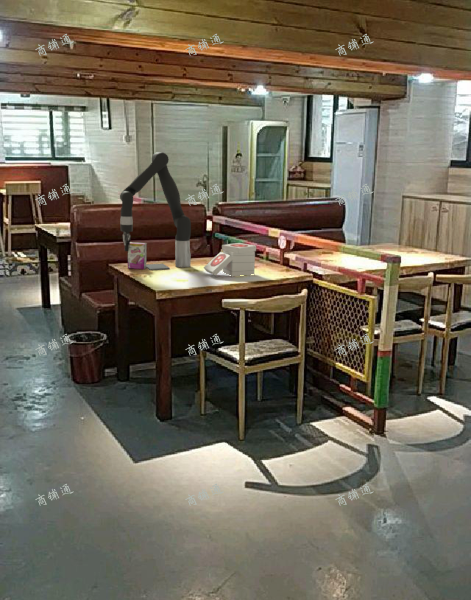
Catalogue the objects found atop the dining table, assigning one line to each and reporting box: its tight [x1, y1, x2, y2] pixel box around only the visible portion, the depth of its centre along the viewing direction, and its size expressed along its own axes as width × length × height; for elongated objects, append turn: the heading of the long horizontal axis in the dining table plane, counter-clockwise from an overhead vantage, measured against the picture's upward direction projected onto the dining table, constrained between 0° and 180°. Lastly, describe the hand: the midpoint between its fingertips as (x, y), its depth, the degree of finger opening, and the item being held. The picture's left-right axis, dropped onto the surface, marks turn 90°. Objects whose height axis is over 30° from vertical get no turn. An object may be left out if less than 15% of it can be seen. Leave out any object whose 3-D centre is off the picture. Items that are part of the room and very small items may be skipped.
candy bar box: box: [127, 241, 148, 270], centre depth 398 cm, size 11×5×16 cm, turn 82°
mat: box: [146, 263, 171, 271], centre depth 404 cm, size 13×16×1 cm
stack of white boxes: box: [203, 242, 257, 277], centre depth 385 cm, size 19×30×18 cm, turn 114°
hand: (126, 251), depth 395 cm, fingers closed
